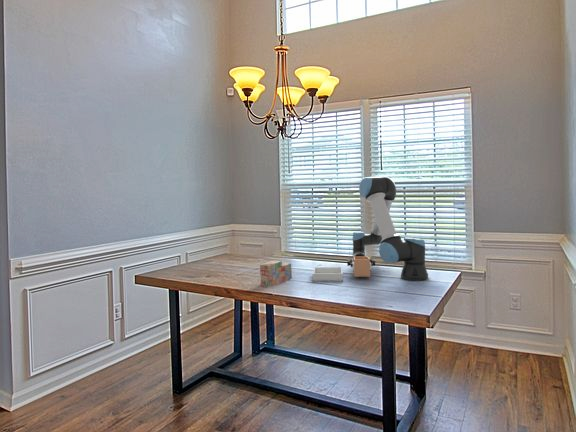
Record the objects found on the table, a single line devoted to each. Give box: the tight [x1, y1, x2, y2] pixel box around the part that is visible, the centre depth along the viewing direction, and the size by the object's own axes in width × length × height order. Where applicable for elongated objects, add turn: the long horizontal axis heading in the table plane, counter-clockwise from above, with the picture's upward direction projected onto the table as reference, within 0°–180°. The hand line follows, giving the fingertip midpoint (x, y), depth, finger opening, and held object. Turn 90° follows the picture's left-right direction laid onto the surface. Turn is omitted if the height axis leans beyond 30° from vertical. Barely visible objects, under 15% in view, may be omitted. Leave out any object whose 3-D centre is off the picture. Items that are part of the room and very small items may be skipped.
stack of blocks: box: [259, 259, 293, 287], centre depth 240 cm, size 21×6×12 cm, turn 143°
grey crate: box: [312, 266, 344, 283], centre depth 246 cm, size 17×17×4 cm
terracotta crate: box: [352, 255, 371, 278], centre depth 243 cm, size 9×9×10 cm
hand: (362, 266), depth 239 cm, fingers closed on terracotta crate, 9 cm apart
